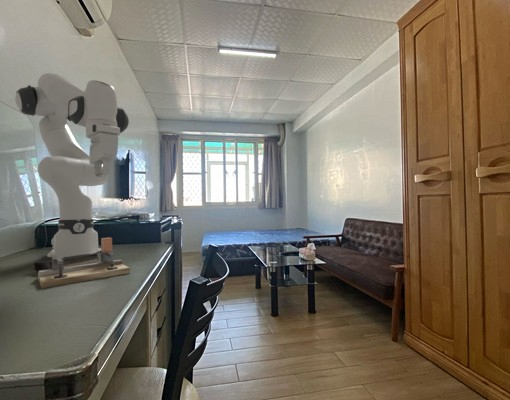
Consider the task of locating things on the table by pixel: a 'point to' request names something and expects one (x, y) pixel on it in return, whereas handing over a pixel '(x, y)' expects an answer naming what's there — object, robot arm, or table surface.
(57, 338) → the table surface
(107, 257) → the block
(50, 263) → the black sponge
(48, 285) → the hole plate
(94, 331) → the table surface
